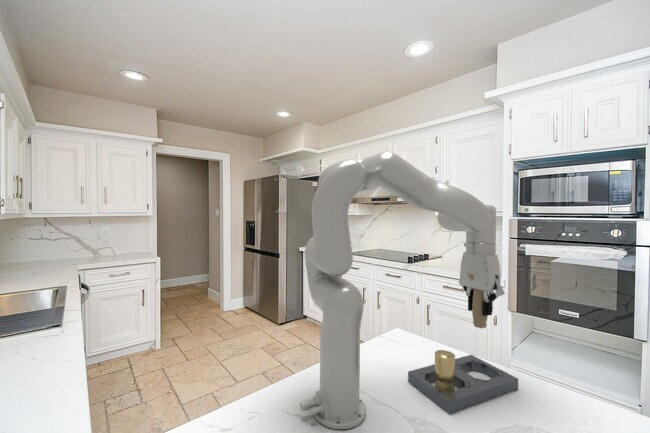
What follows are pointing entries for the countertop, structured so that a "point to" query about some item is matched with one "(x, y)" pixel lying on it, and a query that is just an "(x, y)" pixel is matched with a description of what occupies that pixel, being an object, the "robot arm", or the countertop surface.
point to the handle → (478, 307)
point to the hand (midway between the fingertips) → (479, 311)
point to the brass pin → (445, 370)
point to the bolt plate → (464, 384)
